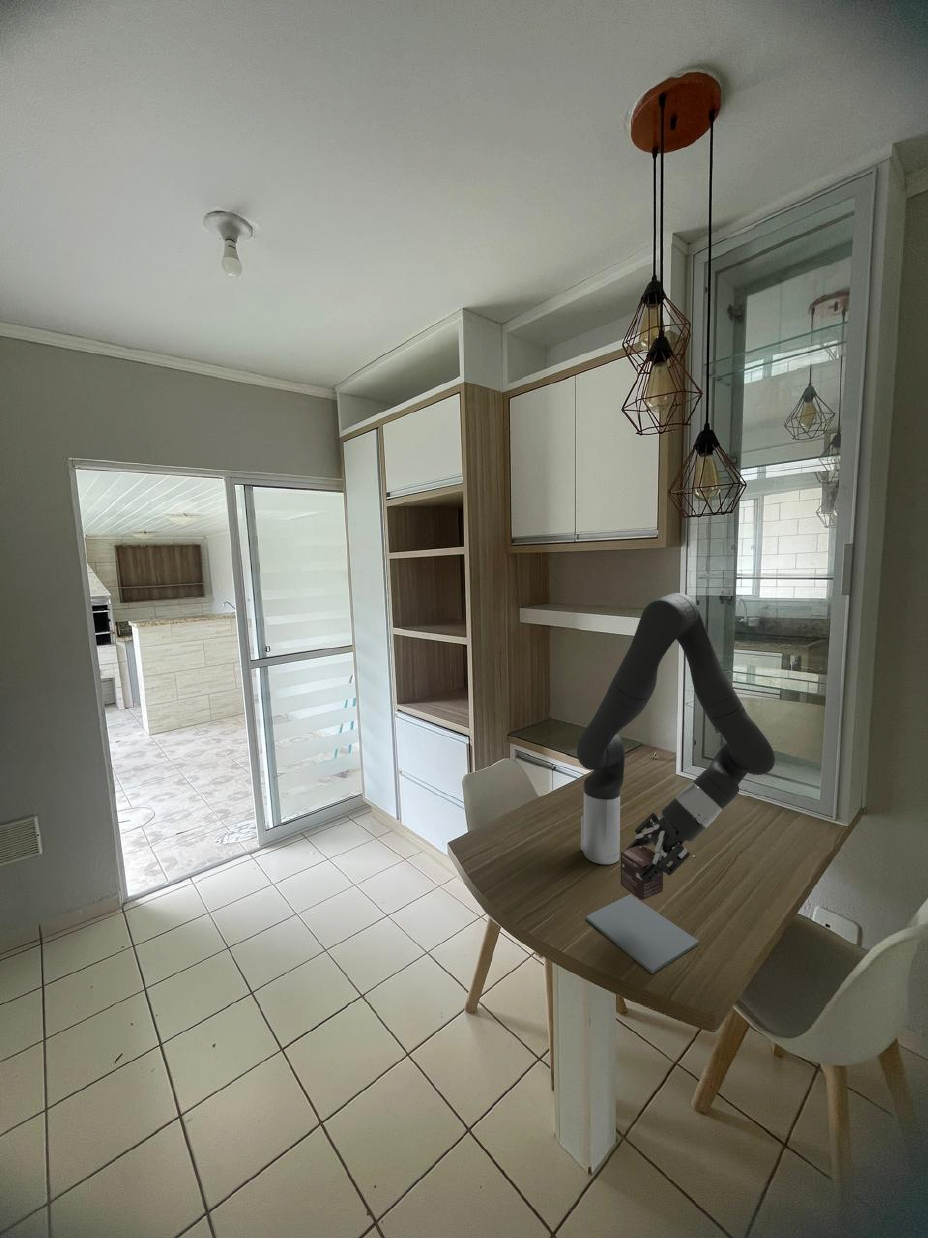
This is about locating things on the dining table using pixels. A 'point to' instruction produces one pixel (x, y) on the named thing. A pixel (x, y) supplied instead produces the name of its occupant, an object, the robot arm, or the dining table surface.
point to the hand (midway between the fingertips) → (634, 867)
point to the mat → (642, 932)
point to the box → (633, 865)
